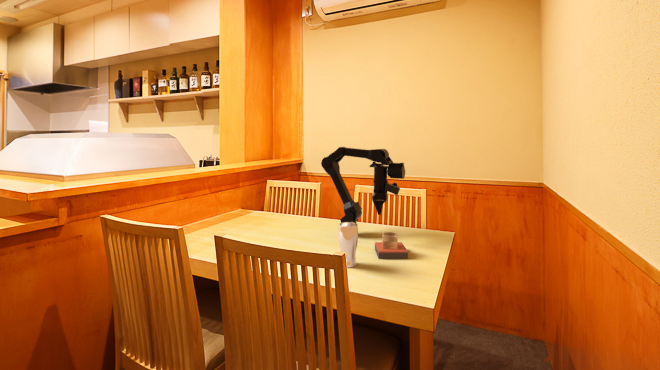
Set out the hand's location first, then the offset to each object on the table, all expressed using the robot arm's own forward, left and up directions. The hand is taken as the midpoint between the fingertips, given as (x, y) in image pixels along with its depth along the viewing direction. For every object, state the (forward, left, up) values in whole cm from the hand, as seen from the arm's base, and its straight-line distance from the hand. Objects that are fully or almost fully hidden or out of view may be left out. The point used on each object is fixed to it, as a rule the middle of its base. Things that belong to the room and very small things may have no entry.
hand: (379, 212), depth 147 cm
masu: (+5, -18, -10) cm, 21 cm away
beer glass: (-10, -32, -13) cm, 36 cm away
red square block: (+5, -18, -13) cm, 23 cm away
